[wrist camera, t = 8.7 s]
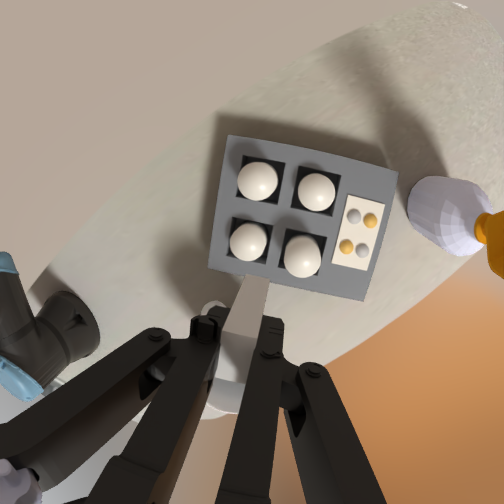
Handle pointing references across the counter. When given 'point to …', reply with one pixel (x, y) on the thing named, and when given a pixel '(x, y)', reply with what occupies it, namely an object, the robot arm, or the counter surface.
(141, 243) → the counter surface
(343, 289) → the button board
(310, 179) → the button
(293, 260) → the button
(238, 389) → the mug
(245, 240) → the button
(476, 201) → the soap bottle
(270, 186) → the button
